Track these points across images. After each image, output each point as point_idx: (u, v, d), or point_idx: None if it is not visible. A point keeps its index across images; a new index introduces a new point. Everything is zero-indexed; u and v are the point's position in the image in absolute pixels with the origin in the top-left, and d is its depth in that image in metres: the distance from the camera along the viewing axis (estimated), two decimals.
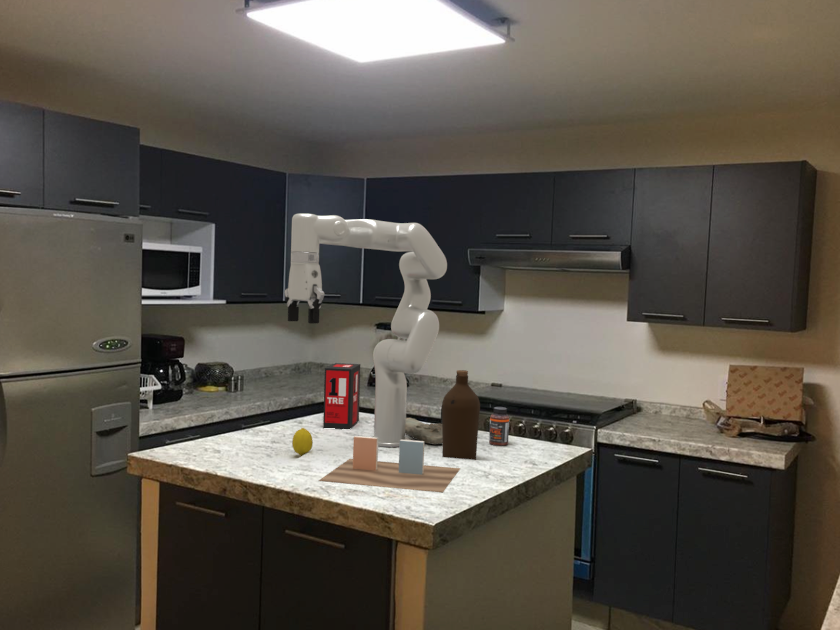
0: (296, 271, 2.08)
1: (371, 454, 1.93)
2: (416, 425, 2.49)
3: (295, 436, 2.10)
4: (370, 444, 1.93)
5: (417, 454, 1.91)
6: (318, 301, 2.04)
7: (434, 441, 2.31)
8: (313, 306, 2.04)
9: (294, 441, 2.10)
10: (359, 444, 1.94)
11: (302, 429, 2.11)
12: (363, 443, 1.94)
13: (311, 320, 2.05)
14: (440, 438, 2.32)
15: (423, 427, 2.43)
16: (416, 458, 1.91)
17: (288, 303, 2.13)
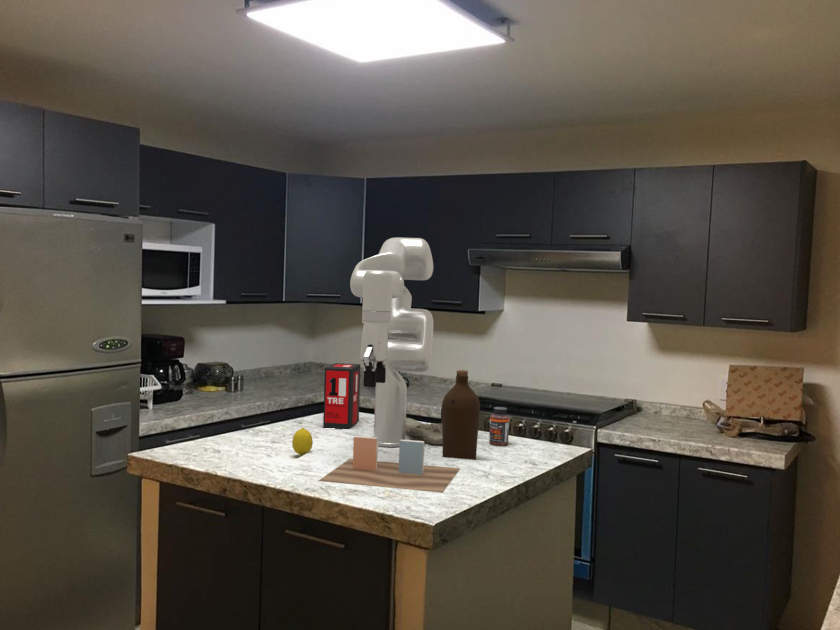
0: (385, 331, 1.99)
1: (371, 454, 1.93)
2: (416, 425, 2.49)
3: (295, 436, 2.10)
4: (370, 444, 1.93)
5: (417, 454, 1.91)
6: None
7: (436, 441, 2.31)
8: None
9: (294, 441, 2.10)
10: (359, 444, 1.94)
11: (302, 429, 2.11)
12: (363, 443, 1.94)
13: None
14: (442, 438, 2.32)
15: (424, 427, 2.43)
16: (416, 458, 1.91)
17: (374, 368, 1.95)
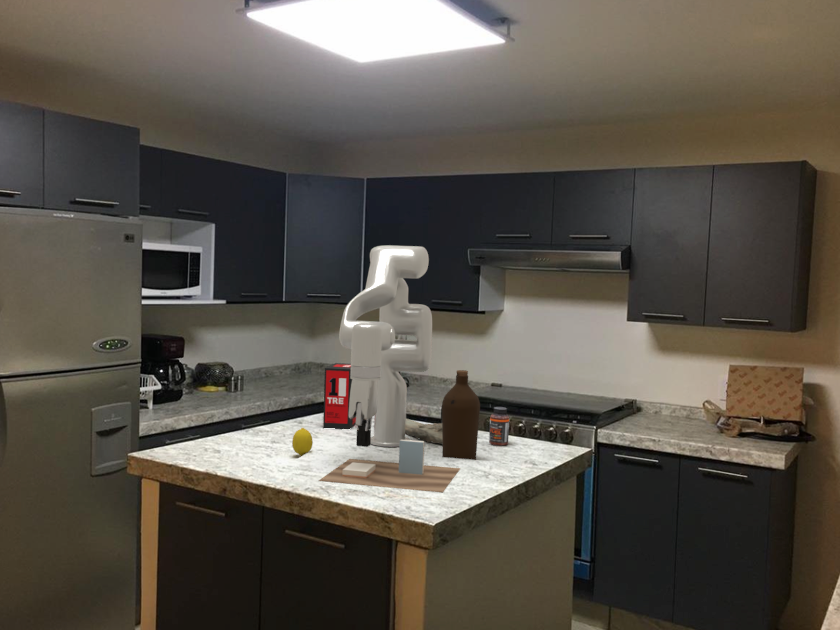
0: (374, 387, 1.91)
1: None
2: (416, 425, 2.49)
3: (295, 436, 2.10)
4: None
5: (417, 454, 1.91)
6: None
7: None
8: None
9: (294, 441, 2.10)
10: None
11: (302, 429, 2.11)
12: None
13: None
14: None
15: (426, 427, 2.43)
16: (416, 458, 1.91)
17: (367, 427, 1.91)
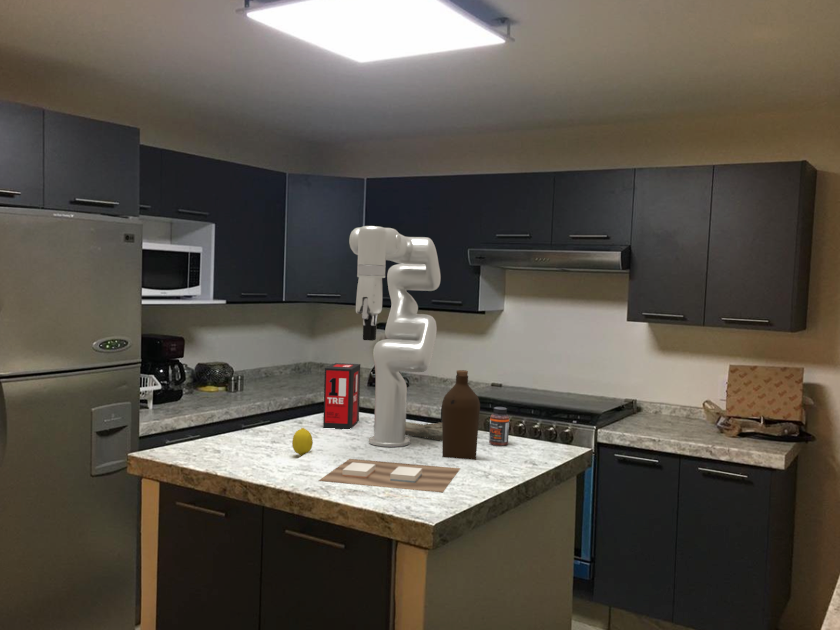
0: (379, 285, 2.06)
1: None
2: (417, 426, 2.48)
3: (295, 436, 2.10)
4: None
5: None
6: None
7: None
8: None
9: (294, 441, 2.10)
10: None
11: (302, 429, 2.11)
12: None
13: None
14: None
15: (433, 427, 2.44)
16: None
17: (373, 322, 2.06)
